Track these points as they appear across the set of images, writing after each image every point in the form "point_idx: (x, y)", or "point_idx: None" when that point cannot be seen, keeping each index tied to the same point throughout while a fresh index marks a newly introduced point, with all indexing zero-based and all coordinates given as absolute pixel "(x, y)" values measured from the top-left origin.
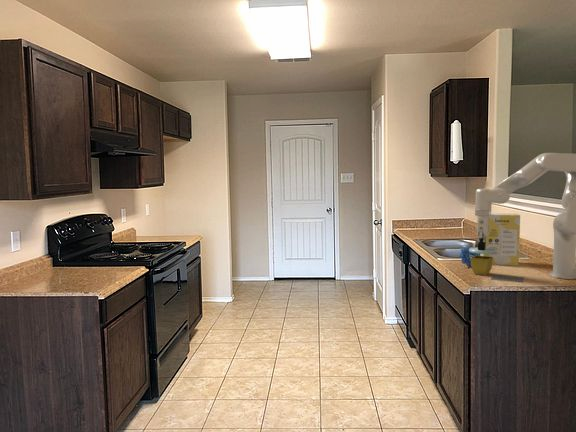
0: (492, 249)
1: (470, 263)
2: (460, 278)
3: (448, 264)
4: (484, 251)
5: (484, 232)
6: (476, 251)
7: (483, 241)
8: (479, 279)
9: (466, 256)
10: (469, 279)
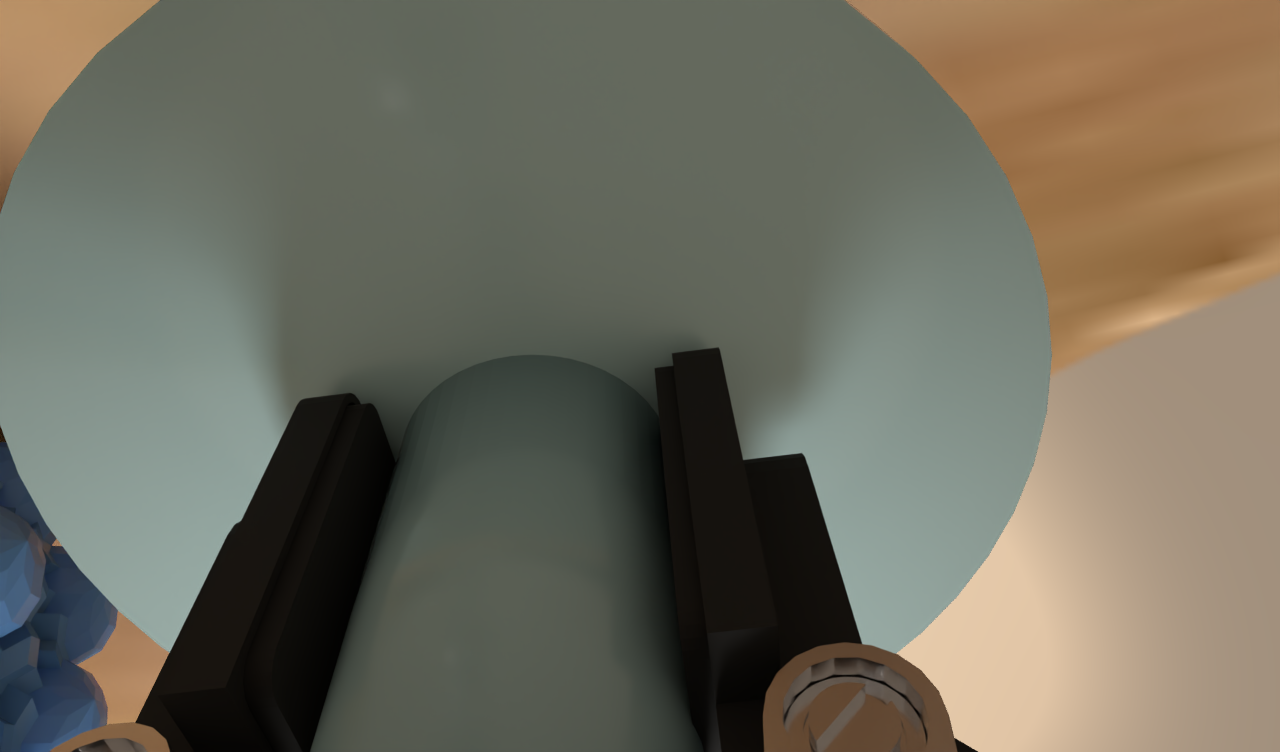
0: (123, 102)
1: (16, 492)
2: (1082, 332)
3: (113, 713)
4: (990, 274)
5: None
6: (998, 512)
7: (947, 733)
8: (1064, 25)
9: (31, 654)
10: (1122, 190)
